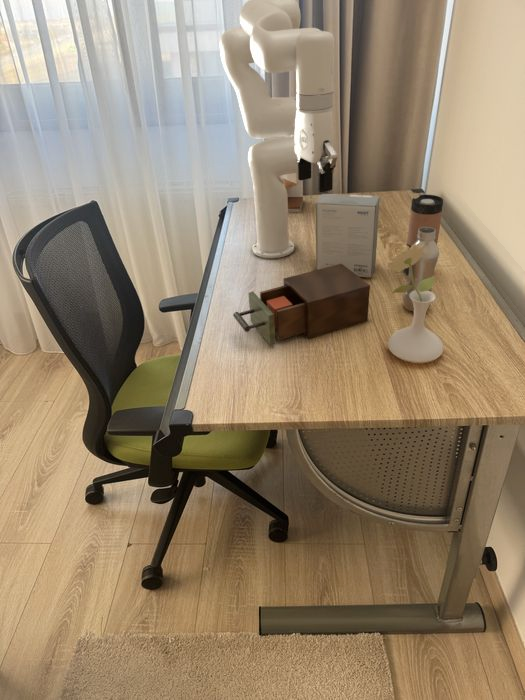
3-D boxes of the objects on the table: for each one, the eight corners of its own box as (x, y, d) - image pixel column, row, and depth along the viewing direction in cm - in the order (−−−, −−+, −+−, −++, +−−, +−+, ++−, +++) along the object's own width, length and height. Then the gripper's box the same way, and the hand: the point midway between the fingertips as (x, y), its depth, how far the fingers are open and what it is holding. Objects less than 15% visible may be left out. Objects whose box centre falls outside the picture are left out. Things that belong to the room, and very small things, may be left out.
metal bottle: (398, 303, 126) (406, 225, 114) (425, 300, 126) (436, 223, 115) (406, 316, 121) (416, 237, 109) (434, 314, 121) (447, 234, 109)
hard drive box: (375, 266, 143) (381, 195, 131) (371, 278, 137) (377, 206, 125) (321, 260, 147) (322, 192, 136) (314, 273, 141) (315, 202, 130)
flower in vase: (432, 335, 114) (450, 228, 99) (449, 366, 105) (471, 254, 90) (374, 339, 114) (383, 233, 99) (386, 370, 105) (397, 259, 90)
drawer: (249, 351, 111) (247, 321, 107) (231, 326, 120) (228, 297, 115) (328, 328, 117) (328, 298, 112) (305, 305, 126) (304, 277, 121)
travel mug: (433, 279, 135) (445, 205, 123) (403, 278, 136) (412, 204, 124) (431, 266, 141) (442, 194, 129) (403, 265, 142) (411, 194, 130)
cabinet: (308, 339, 116) (308, 302, 110) (284, 313, 125) (283, 278, 120) (367, 321, 120) (370, 285, 115) (340, 297, 130) (341, 263, 124)
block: (267, 320, 119) (266, 300, 116) (284, 316, 120) (284, 295, 117) (275, 330, 116) (274, 309, 113) (293, 325, 117) (292, 304, 114)
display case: (267, 212, 181) (262, 104, 161) (272, 201, 189) (267, 97, 169) (300, 212, 179) (298, 103, 159) (303, 201, 188) (301, 96, 167)
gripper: (280, 98, 111) (283, 177, 121) (319, 111, 98) (318, 199, 108) (311, 93, 113) (311, 172, 123) (352, 106, 100) (349, 192, 110)
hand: (314, 184), depth 115 cm, fingers open, 9 cm apart
